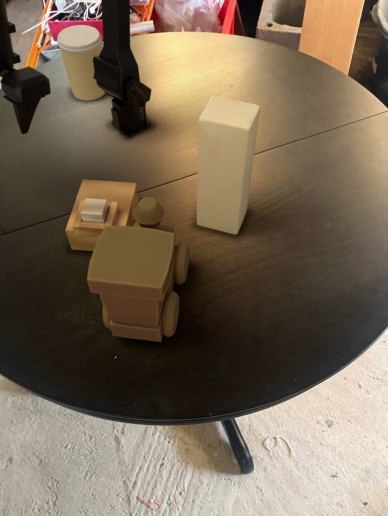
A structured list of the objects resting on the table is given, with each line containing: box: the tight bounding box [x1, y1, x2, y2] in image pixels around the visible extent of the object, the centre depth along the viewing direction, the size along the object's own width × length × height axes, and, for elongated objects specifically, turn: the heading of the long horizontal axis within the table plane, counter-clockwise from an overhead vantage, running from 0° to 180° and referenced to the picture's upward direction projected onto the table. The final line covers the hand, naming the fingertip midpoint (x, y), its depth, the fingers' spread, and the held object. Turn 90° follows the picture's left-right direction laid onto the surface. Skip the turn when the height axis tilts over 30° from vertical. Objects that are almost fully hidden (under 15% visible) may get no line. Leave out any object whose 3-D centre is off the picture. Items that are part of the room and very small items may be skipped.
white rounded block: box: [81, 198, 108, 223], centre depth 79 cm, size 4×4×2 cm
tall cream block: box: [196, 95, 261, 235], centre depth 79 cm, size 8×7×21 cm
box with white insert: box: [65, 178, 140, 252], centre depth 84 cm, size 14×10×6 cm
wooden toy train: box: [86, 196, 190, 343], centre depth 71 cm, size 20×11×17 cm, turn 172°
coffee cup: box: [56, 24, 106, 101], centre depth 105 cm, size 9×9×12 cm
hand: (7, 122), depth 80 cm, fingers open, 9 cm apart
